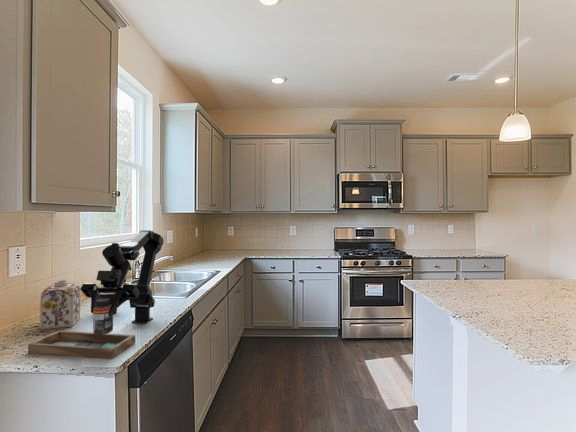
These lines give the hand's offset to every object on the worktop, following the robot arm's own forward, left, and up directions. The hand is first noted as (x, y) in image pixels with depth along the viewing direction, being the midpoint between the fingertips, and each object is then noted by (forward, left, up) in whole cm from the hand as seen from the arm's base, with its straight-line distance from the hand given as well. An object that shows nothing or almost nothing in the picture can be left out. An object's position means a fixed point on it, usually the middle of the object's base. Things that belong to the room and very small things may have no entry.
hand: (101, 312), depth 113 cm
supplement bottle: (-1, 0, -7) cm, 7 cm away
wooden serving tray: (-2, -8, -13) cm, 15 cm away
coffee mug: (-40, -26, -13) cm, 49 cm away
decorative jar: (-23, -35, -13) cm, 44 cm away
